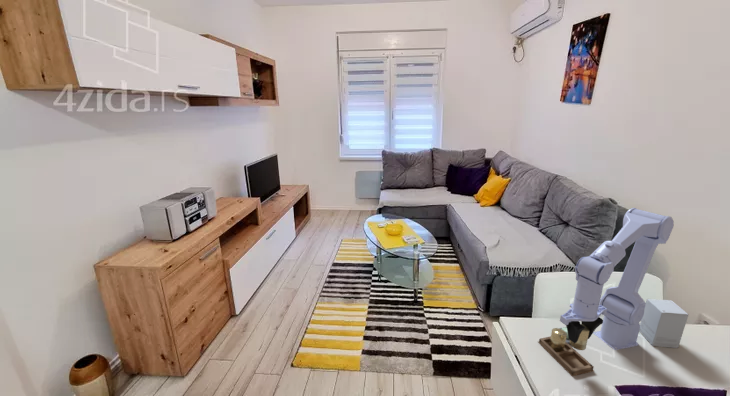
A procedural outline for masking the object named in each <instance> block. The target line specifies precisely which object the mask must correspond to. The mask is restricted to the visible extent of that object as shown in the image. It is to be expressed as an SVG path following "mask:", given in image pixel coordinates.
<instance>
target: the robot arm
mask: <svg viewBox="0 0 730 396" xmlns="http://www.w3.org/2000/svg"><path fill="white" fill-rule="evenodd" d="M674 223H675V222H674V220H673V218H672V216H669V215H663V214H659V213H655V212H652V211H651V212H650V211H647V210H643V209H639V208H637V207H632V208H630V209H628V210H627V211H626V212H625V213H624V215H623V219H622V227H621V229H619V231H618V233H617V234H616V235H615V236H614V237H613V238H612V239H611V240H605V241H604V242H602V243H601V244H600V245H599V246H598V247H597V248H596V249H595V250H594V251H592V253H591V254H589V256H582V257H581V258H579V259H578V261H577V262H576V265H575V267H574V273H575V280H576V282H577V283H576V288H575V293H574V299H573V303H569V308H570V309H568V310H567V311H566V312H565V313H563V314H561V315H560V317H559V322H560V323H562V324H563V325H564V326H565V327H567V331H568V337H569V339H570V340H571V341H572V342H574V343H576V342H577V341H578V339H579V335H580V333H581V332H582V330H583V329H584V328H585V327H584V326H583V325H585V326H586V327H588V328H589V335H588V340H589V339H591V337H592V335H595V336H596V337H597V338H598V339H600V340H601V341H603V342H604V343H605V344H606V345H607V346H609V347H610V348H612V349H613V350H614V351H618V350H622V349H628V348H632V347H637V346H639V345H640V344H639V343H638V342H637V340H638V337H639V332H640V331H639V330H640V323H641V319H642V318H643V315H644V309H645V306H646V305H645V304H646V301H645V300H644V299H643V298H642V296H641V295H640V294H639V290H640V288H641V285H642V283H643V280H644V278H645V275H646V273H647V271H648V268H649V266H650V263H651V262H652V261H651V260H652V259H653V257H654V254H655V251H656V249H657V248H658V245H660V244H661V245H662V244H663V245H665V244H666V243H667V242H668V240H669V238H670V236H671V235H672V234H671V233H672V231H673V229H674ZM631 245H634V246H633V248H632V250H631V252H630V256H629V258H628V260H627V262H626V264H625V265H626V266H625V268H624V270H623V273H622V275H621V278H620V280H619V282H618V285H617V286H611V287H608V288H606V290H605V292H604V293H603V289H604V284H606V283H607V282H608V281H609V279H610V278H611V276H612V274H613V272H614V270H615V269H614V268H615V267H616V266H617V264H619V263H620V262H621V260H623V259H624V258H625V257H626V255H627V254H626V249H628V247H630V246H631ZM602 293H603V295H602ZM601 315H602V316H603V319H602V318H601ZM581 324H583V325H581ZM599 326H601V328H600V330H597V331H595V330H596V329H598V327H599Z"/></svg>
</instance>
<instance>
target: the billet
mask: <svg viewBox="0 0 730 396" xmlns="http://www.w3.org/2000/svg"><path fill="white" fill-rule="evenodd" d="M580 324H581V323H580ZM581 325H583V324H581ZM583 326H584V327H585V328H584V329H583V330H582V332H581V333H580V335H579V339H578V341H577V342H576V343H574V342H572V341H571V340H570V344H569V345H570V346H571V347H572V348H573V349H575V350H576V351H585V350H586V348H587V343H588V340H589V339H588V335H589V328H588V327H586V326H585V325H583Z"/></svg>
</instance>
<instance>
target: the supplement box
mask: <svg viewBox="0 0 730 396" xmlns="http://www.w3.org/2000/svg"><path fill="white" fill-rule="evenodd" d="M645 303H646V304H645V305H646V306H645V309H644V315H643V318H642V319H641V321H640V322H639V323H640V330H639V332H640V334H641V333H642V334H643V335H642V334H641V335H642V336H643V337H644V338H645V339H646V340H647V342H648V343H649V344H650V345H651V346H654V347H663V348H664V347H665V348H673V349H678V348H679V347H680V343H681V340H682V337H683V335H684V330H685V327H686V323H687V321H688V317H689V313H688V312H686V310H684V309H683V308H682V307H680V306H679V305H678V304H677V303H676V302H674V301H673V300H671V299H655V298H654V299H652V298H647V299H646V301H645Z"/></svg>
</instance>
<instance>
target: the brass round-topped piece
mask: <svg viewBox="0 0 730 396" xmlns="http://www.w3.org/2000/svg"><path fill="white" fill-rule="evenodd" d="M550 336H551V339H550V345H549V346H550V347H551V348H552V349H553V350H554V351H555V352H561V351H564V347H565V342H566V337H567V333H566V332H565V331H564V330H562V329H559V328H558V327H554V328H552V329H551V333H550Z"/></svg>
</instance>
